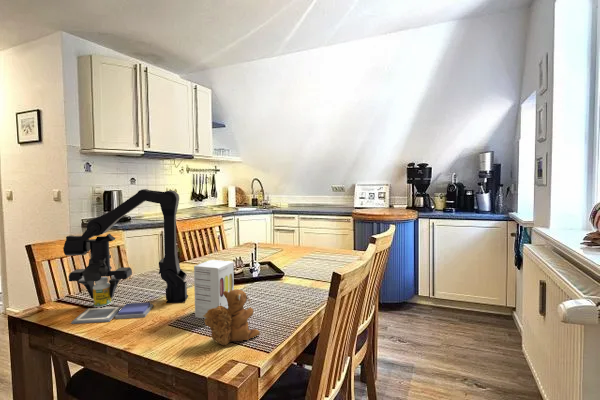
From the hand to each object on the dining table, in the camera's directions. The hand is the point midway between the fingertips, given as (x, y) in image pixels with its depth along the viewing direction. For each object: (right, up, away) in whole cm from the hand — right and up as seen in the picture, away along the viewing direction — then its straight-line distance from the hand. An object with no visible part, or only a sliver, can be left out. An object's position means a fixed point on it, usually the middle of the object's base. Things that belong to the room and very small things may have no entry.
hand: (102, 298), depth 123 cm
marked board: (+4, -3, -9) cm, 10 cm away
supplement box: (+41, -3, -8) cm, 42 cm away
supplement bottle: (0, -3, 0) cm, 3 cm away
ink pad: (+14, -3, -7) cm, 16 cm away
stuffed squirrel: (+50, -5, -25) cm, 56 cm away
